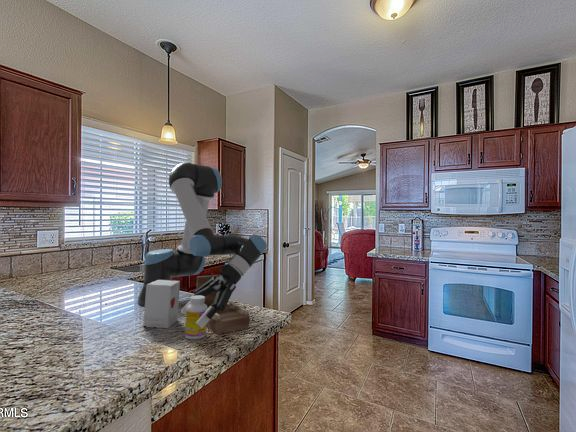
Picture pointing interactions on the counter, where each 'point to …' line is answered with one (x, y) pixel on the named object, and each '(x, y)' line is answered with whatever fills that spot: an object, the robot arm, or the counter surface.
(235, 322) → the display stand
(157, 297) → the supplement box
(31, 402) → the counter surface
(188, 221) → the robot arm
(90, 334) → the counter surface
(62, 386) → the counter surface
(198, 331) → the supplement bottle
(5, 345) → the counter surface
